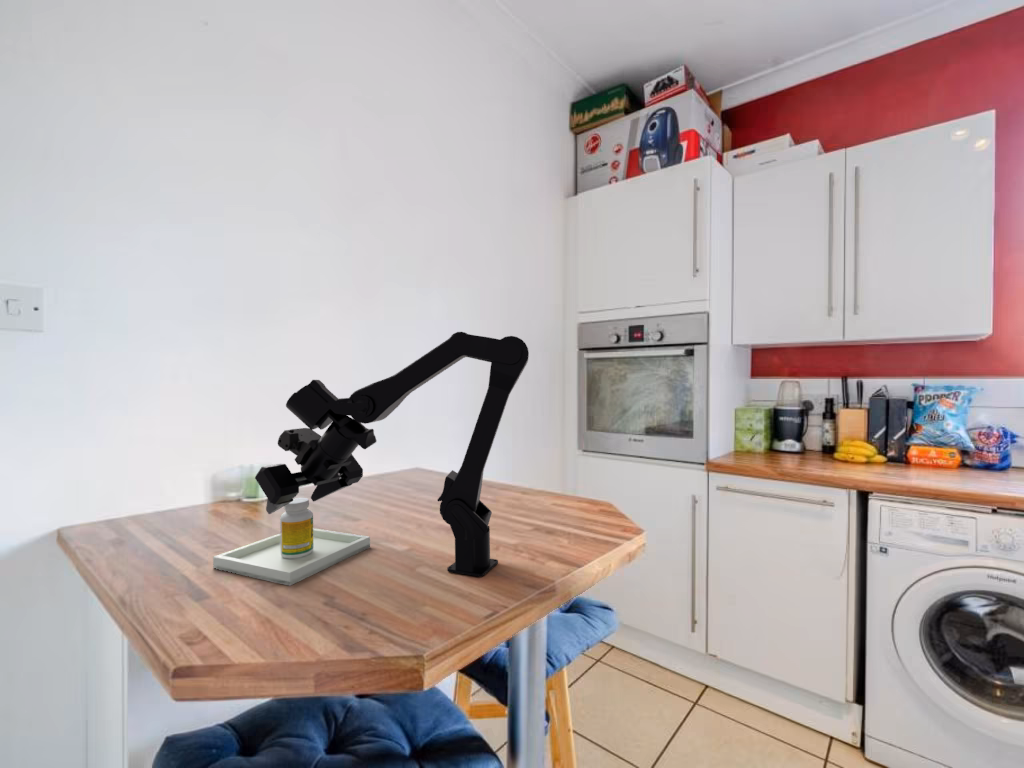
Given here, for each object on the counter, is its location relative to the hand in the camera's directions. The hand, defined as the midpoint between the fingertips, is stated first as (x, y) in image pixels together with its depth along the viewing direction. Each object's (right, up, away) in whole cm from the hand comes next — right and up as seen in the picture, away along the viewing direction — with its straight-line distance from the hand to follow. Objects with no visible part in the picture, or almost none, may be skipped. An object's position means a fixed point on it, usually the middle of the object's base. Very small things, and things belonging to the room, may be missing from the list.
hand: (291, 505), depth 82 cm
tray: (+1, -9, -1) cm, 9 cm away
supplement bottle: (+1, -9, -1) cm, 9 cm away
